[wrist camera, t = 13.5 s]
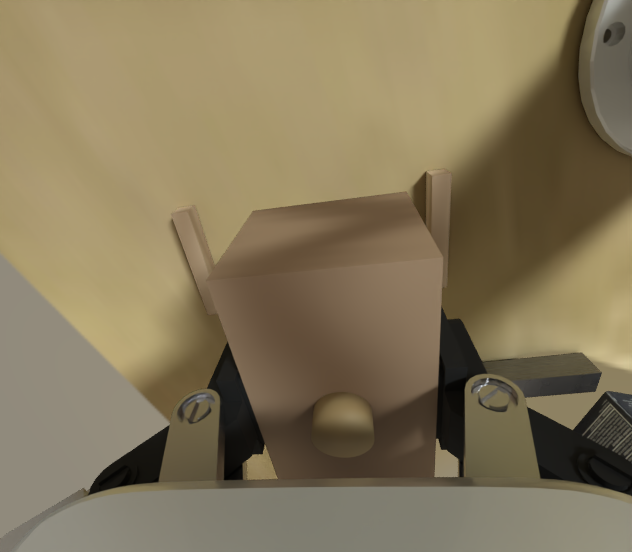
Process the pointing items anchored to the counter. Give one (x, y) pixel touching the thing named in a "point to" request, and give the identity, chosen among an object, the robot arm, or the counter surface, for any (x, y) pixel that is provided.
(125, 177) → the counter surface
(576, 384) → the bar
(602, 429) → the small box
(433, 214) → the bolt guide rails
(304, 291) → the cap block
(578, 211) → the counter surface
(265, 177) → the counter surface
